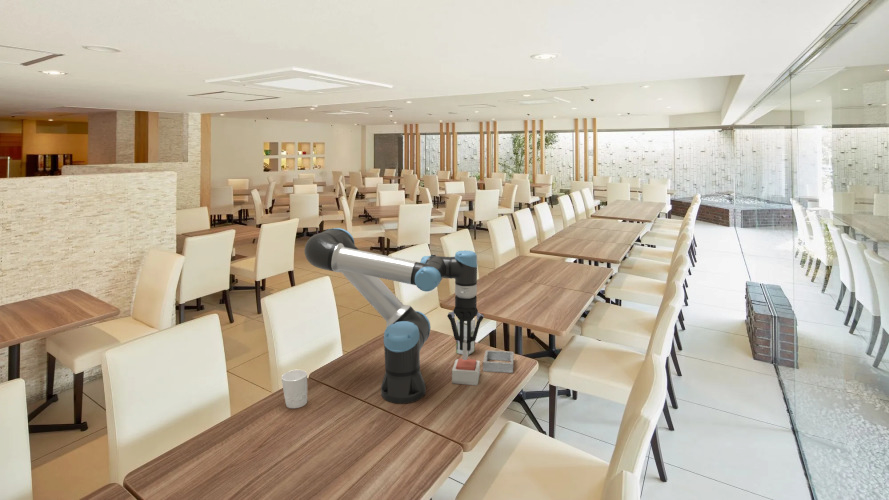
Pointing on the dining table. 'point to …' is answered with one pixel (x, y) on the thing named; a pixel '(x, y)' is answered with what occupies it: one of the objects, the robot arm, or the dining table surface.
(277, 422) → the dining table surface
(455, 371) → the switch box
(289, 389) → the white cup
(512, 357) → the frame
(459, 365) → the button
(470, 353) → the syrup box
